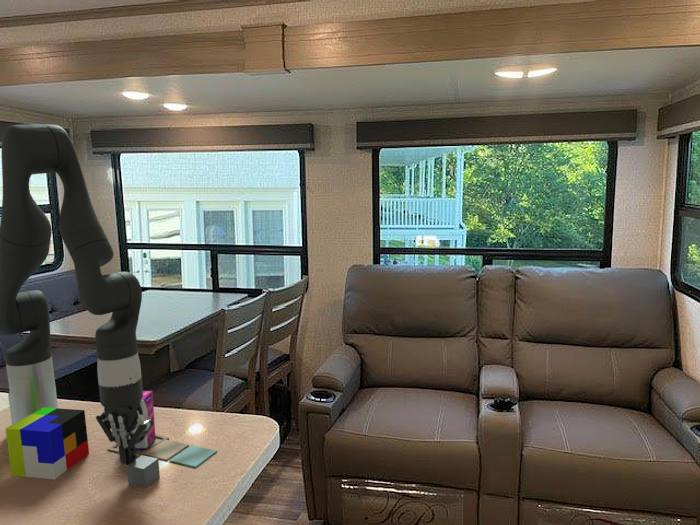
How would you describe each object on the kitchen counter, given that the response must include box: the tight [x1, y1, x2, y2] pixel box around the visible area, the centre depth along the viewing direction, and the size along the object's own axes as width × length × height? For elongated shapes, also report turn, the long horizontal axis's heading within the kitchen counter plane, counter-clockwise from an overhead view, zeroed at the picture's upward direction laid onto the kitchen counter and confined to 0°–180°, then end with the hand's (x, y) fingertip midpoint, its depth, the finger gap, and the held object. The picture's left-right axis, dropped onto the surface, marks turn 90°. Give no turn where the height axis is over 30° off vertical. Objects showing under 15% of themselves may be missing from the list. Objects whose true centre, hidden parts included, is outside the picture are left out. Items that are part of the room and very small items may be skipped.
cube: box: [126, 455, 161, 489], centre depth 103 cm, size 4×4×4 cm
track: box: [107, 433, 218, 469], centre depth 115 cm, size 23×9×1 cm, turn 66°
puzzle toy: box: [5, 407, 90, 480], centre depth 109 cm, size 10×10×10 cm
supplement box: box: [135, 390, 156, 451], centre depth 117 cm, size 6×6×12 cm
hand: (128, 462), depth 103 cm, fingers closed
